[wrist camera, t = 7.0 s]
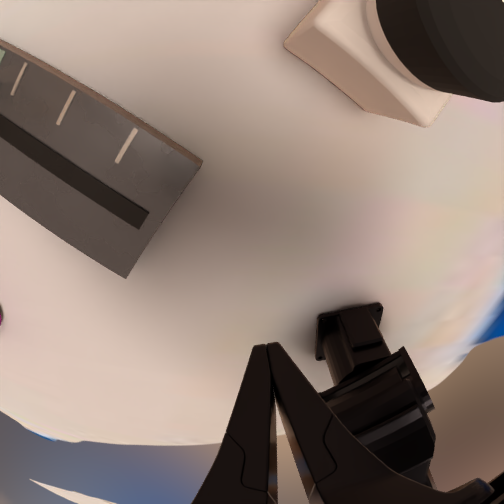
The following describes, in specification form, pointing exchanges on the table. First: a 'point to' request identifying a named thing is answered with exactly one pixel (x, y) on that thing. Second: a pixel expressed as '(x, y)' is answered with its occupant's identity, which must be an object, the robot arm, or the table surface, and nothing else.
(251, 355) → the robot arm
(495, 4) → the medicine bottle
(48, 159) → the board
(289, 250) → the table surface
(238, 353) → the table surface
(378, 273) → the table surface
